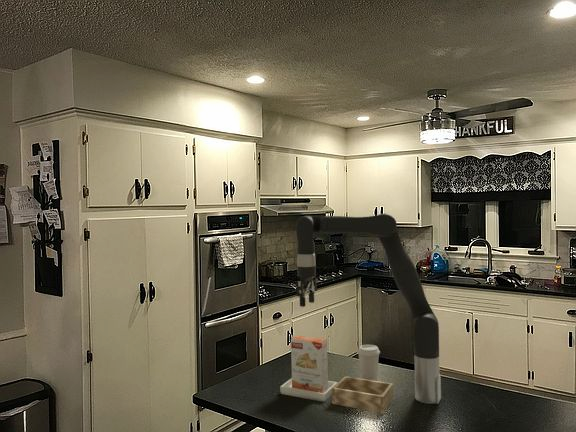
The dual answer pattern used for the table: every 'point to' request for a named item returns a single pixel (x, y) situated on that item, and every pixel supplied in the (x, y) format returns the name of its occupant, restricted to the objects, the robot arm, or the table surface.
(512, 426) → the table surface
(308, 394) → the white tray
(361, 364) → the coffee cup
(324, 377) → the cracker box
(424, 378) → the robot arm
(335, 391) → the oak holder
